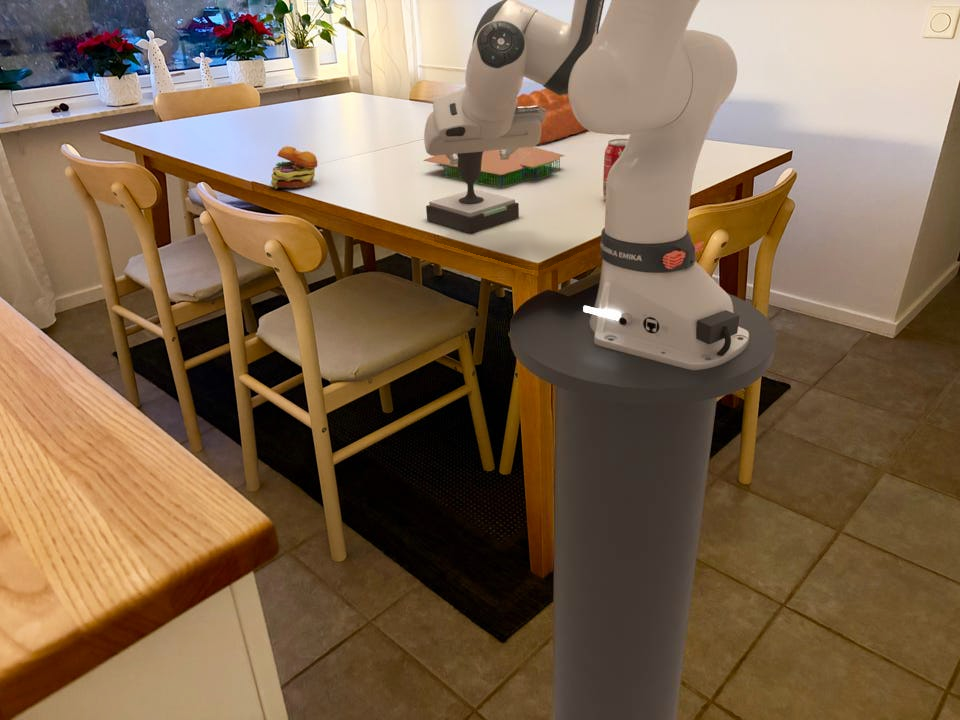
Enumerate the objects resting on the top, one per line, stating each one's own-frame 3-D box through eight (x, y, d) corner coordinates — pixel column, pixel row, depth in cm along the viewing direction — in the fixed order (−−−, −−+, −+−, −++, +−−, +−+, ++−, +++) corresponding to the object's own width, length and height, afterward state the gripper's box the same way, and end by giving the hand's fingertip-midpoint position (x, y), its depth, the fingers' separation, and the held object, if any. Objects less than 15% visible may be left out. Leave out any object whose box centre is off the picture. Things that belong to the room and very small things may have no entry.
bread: (494, 141, 212) (493, 93, 206) (557, 123, 233) (558, 79, 227) (538, 147, 203) (538, 97, 197) (599, 127, 224) (601, 82, 218)
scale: (519, 218, 146) (519, 199, 145) (471, 234, 139) (470, 214, 137) (474, 206, 155) (473, 188, 153) (426, 220, 147) (425, 201, 146)
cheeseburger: (263, 184, 178) (265, 142, 175) (304, 187, 184) (307, 146, 181) (279, 192, 170) (282, 147, 167) (322, 194, 177) (325, 152, 173)
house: (510, 191, 164) (510, 153, 160) (412, 171, 185) (409, 137, 181) (573, 170, 179) (574, 135, 175) (475, 153, 199) (474, 122, 195)
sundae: (495, 199, 145) (492, 120, 138) (470, 207, 141) (466, 126, 134) (472, 194, 149) (468, 117, 142) (447, 201, 145) (442, 122, 138)
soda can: (643, 198, 155) (647, 140, 149) (624, 206, 150) (627, 146, 145) (615, 193, 159) (617, 136, 154) (595, 201, 155) (597, 142, 149)
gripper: (545, 89, 123) (530, 139, 136) (424, 99, 120) (420, 148, 133) (552, 121, 122) (537, 168, 135) (430, 132, 118) (426, 179, 131)
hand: (478, 158), depth 134 cm, fingers open, 8 cm apart
